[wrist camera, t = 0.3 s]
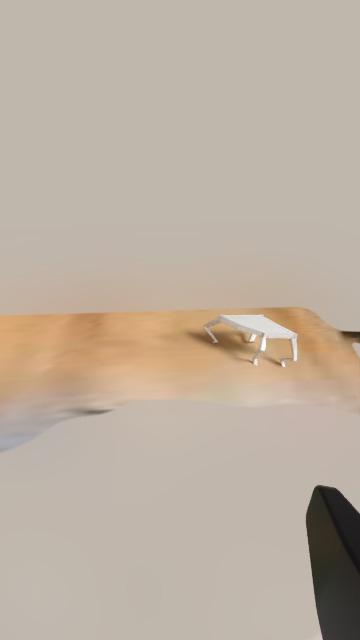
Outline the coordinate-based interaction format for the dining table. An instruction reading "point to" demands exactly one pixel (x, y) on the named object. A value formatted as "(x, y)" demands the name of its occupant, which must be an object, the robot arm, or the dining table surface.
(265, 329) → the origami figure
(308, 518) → the robot arm
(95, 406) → the dining table surface
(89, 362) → the dining table surface
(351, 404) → the dining table surface
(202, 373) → the dining table surface
